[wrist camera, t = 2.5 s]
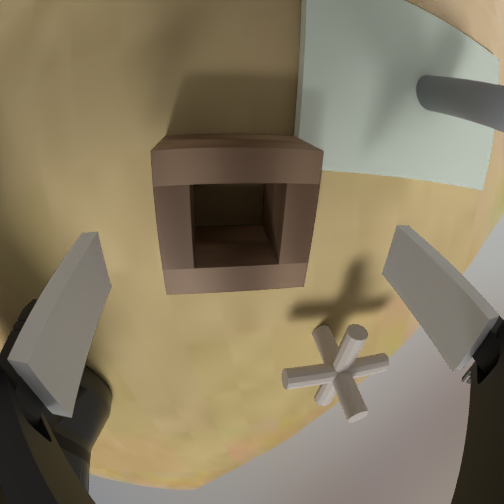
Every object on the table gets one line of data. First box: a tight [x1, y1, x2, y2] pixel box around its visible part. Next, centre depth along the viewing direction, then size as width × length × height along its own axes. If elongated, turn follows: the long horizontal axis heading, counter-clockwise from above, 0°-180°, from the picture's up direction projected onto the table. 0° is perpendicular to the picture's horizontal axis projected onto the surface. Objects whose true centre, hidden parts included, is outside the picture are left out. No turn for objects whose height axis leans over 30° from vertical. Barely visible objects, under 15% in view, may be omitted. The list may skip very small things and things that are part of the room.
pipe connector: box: [282, 324, 389, 422], centre depth 23 cm, size 10×10×10 cm
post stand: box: [294, 0, 504, 190], centre depth 12 cm, size 20×14×10 cm
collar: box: [151, 134, 324, 295], centre depth 16 cm, size 8×8×5 cm
